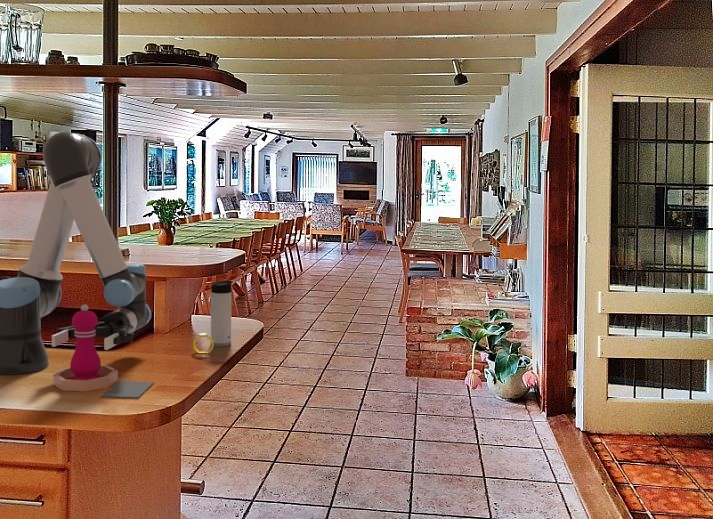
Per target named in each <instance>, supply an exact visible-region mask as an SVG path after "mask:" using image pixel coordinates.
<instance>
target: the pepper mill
mask: <svg viewBox="0 0 713 519" xmlns="http://www.w3.org/2000/svg"><path fill="white" fill-rule="evenodd" d="M98 320H99V319H98V316H97V314H96V313H95V312H94V311H92V310H89V305H88V304H81V306H80V310H79V311H77V312H76V313H74V314H73V316H72V320H71V324H72V325H71V326H73V327H74V328H75V329H76V330H75V331H74V332H75V334H74V336H76V338H75V340H76V345H75V350H74V353H73V355H72V357H71V359H70V364H69V367H70V369H71V371H72V372H73V373H74V374H75V375H74V376H73V378H72V380H89V379H94V378H100V376H99V374H97V372H98V371H99V369H100V368H101V365H102V362H101V358H100V356H99V354H98V351H97V349H96V346H95V337H94V336H95V335H96V333H95V331H96V330H95V329H94V328H95V326H96V325H97V323H98Z"/></svg>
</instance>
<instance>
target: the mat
mask: <svg viewBox="0 0 713 519" xmlns="http://www.w3.org/2000/svg"><path fill="white" fill-rule="evenodd" d="M154 384H155V382H154V381H139V380H138V381H134V380H133V381H132V380H131V381H130V380H117V381H116V382H115V383H113V384H112V385H111V386H110V387H108V389H107V390H105V391H104V392H103V393H102V394H100V398H106V399H107V398H109V399H133V400H134V399H137V400H138V399H140V398H141V397H142V396H143V395H144V394H145V393H146V392H147V391H148V390H149V389H150V388H152V386H153V385H154Z"/></svg>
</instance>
